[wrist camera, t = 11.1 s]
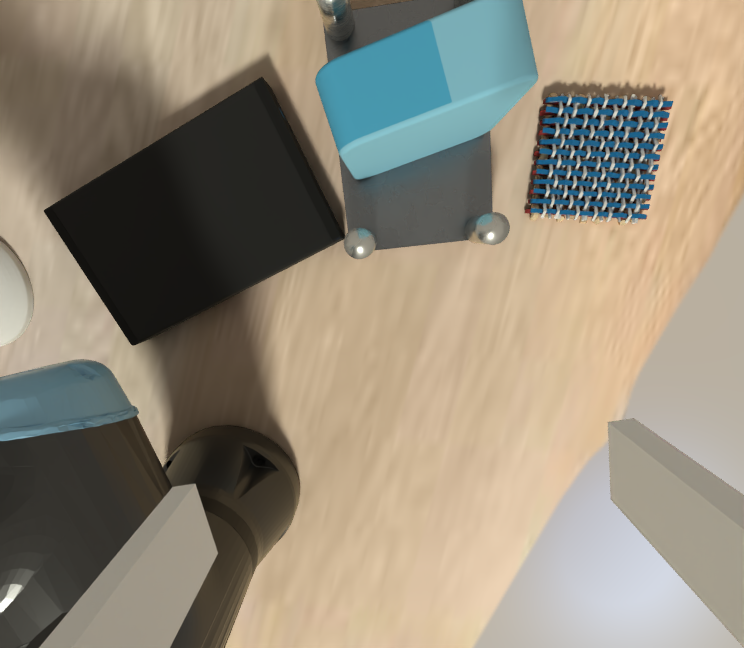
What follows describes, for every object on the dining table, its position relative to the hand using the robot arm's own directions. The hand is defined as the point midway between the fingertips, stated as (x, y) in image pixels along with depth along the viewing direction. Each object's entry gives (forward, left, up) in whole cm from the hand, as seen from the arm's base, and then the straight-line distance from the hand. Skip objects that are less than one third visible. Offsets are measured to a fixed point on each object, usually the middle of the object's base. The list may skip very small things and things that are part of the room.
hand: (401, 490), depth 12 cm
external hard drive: (-17, +11, -26) cm, 33 cm away
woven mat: (+19, +12, -26) cm, 34 cm away
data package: (+3, +16, -24) cm, 29 cm away
